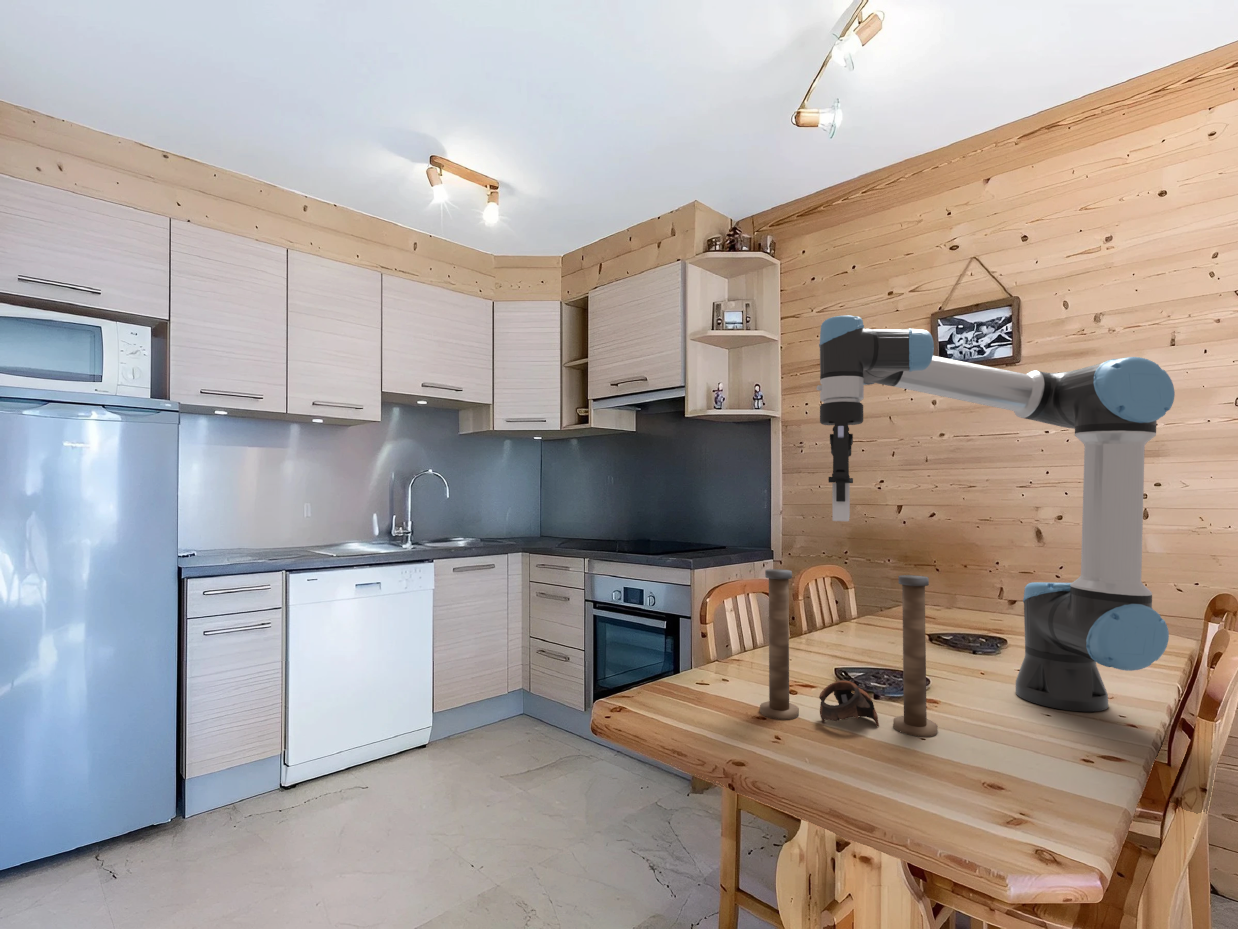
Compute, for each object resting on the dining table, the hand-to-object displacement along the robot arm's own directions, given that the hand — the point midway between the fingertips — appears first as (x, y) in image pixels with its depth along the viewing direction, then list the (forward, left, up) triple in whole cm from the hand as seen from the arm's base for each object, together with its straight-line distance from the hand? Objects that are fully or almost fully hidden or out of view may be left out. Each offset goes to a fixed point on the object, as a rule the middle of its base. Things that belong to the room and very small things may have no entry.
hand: (841, 519), depth 117 cm
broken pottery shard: (-1, 0, -36) cm, 36 cm away
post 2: (-12, 0, -36) cm, 38 cm away
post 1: (+11, 0, -36) cm, 38 cm away
